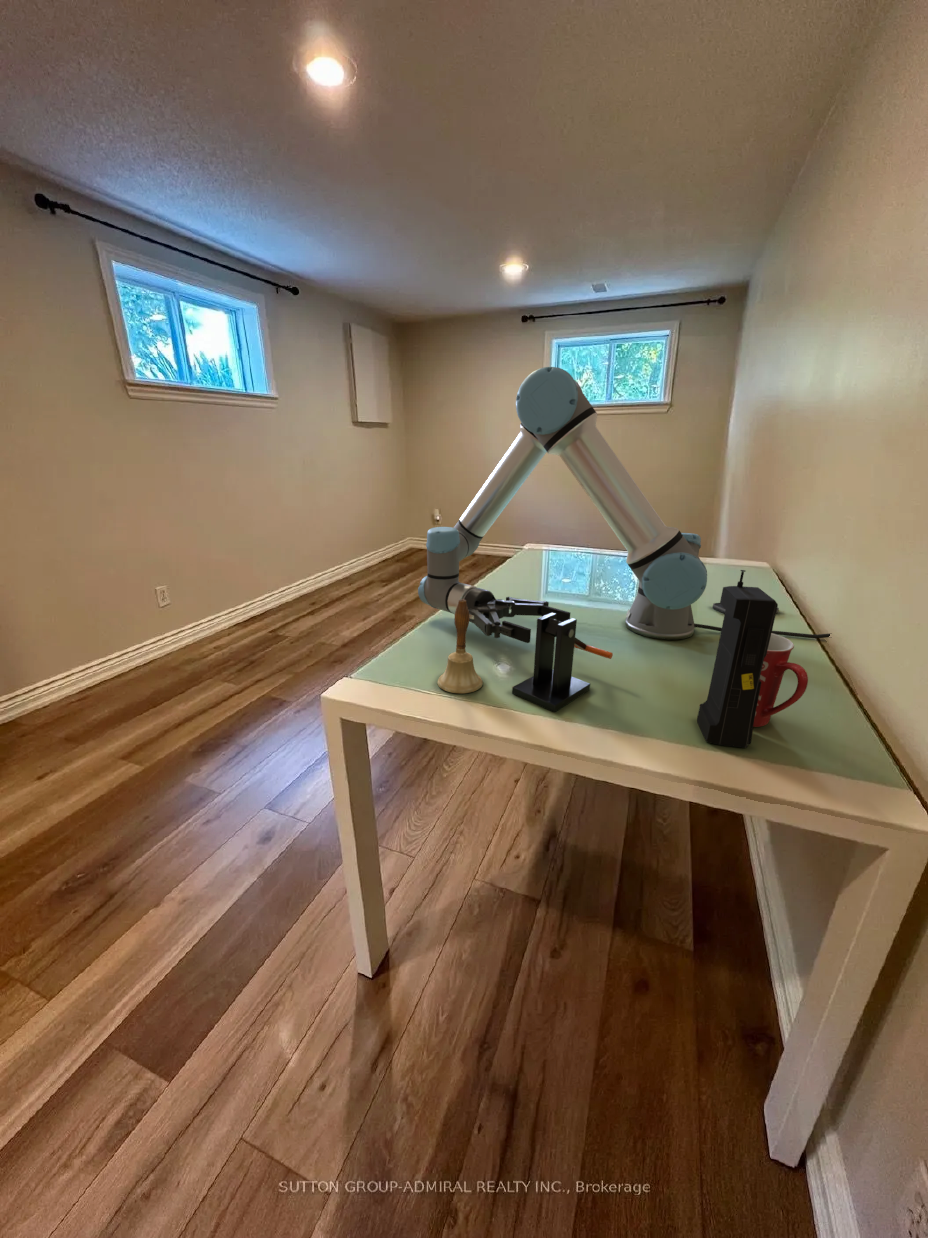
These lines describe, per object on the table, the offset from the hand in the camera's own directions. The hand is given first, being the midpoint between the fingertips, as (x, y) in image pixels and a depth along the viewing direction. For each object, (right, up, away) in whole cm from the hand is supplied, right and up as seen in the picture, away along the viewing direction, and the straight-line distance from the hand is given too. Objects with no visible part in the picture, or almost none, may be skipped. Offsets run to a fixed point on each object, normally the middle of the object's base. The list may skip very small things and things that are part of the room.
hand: (550, 627), depth 97 cm
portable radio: (+22, -16, -23) cm, 36 cm away
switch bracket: (-2, -11, -10) cm, 15 cm away
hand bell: (-18, -10, -8) cm, 22 cm away
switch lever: (+1, -3, -10) cm, 11 cm away
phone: (+58, +4, +33) cm, 66 cm away
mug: (+29, -15, -19) cm, 38 cm away
